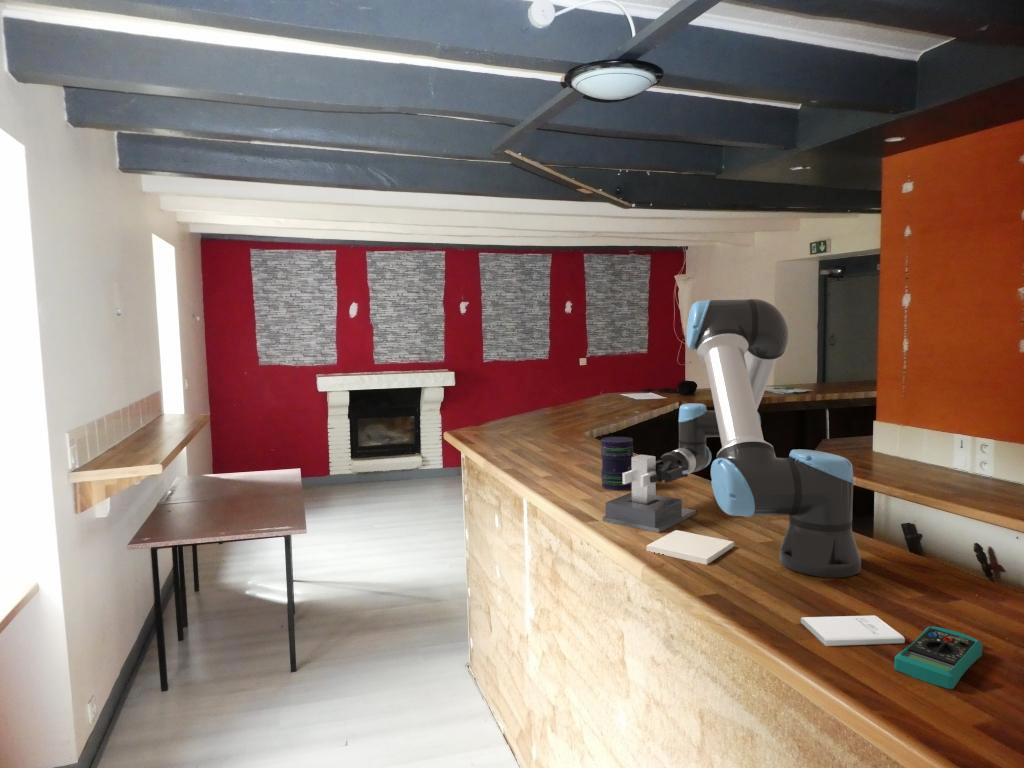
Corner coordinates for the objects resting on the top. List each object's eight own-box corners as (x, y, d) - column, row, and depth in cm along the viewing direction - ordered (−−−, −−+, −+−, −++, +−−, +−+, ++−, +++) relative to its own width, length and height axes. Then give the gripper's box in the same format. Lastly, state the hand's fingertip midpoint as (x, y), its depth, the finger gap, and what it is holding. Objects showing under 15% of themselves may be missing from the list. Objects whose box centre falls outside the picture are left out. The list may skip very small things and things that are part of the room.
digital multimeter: (984, 656, 98) (984, 637, 97) (951, 694, 88) (952, 673, 88) (928, 639, 103) (928, 621, 103) (892, 673, 93) (892, 653, 93)
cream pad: (733, 546, 146) (733, 541, 146) (706, 564, 136) (706, 559, 136) (676, 534, 155) (676, 529, 155) (646, 550, 145) (646, 545, 145)
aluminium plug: (655, 514, 168) (655, 456, 167) (647, 518, 165) (646, 459, 163) (640, 511, 171) (640, 454, 170) (631, 515, 168) (631, 457, 166)
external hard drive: (800, 625, 109) (874, 623, 109) (825, 649, 101) (904, 646, 101) (800, 616, 109) (874, 613, 109) (825, 639, 101) (905, 636, 101)
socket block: (695, 513, 172) (695, 495, 172) (658, 532, 157) (658, 512, 157) (641, 504, 183) (641, 486, 182) (602, 521, 168) (602, 501, 167)
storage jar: (599, 490, 200) (599, 441, 198) (602, 482, 209) (602, 436, 208) (632, 491, 197) (632, 442, 196) (634, 483, 207) (634, 436, 205)
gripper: (706, 482, 175) (664, 500, 157) (648, 473, 186) (603, 489, 169) (706, 454, 174) (664, 469, 157) (648, 447, 186) (602, 461, 168)
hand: (632, 480), depth 163 cm, fingers closed on aluminium plug, 4 cm apart
